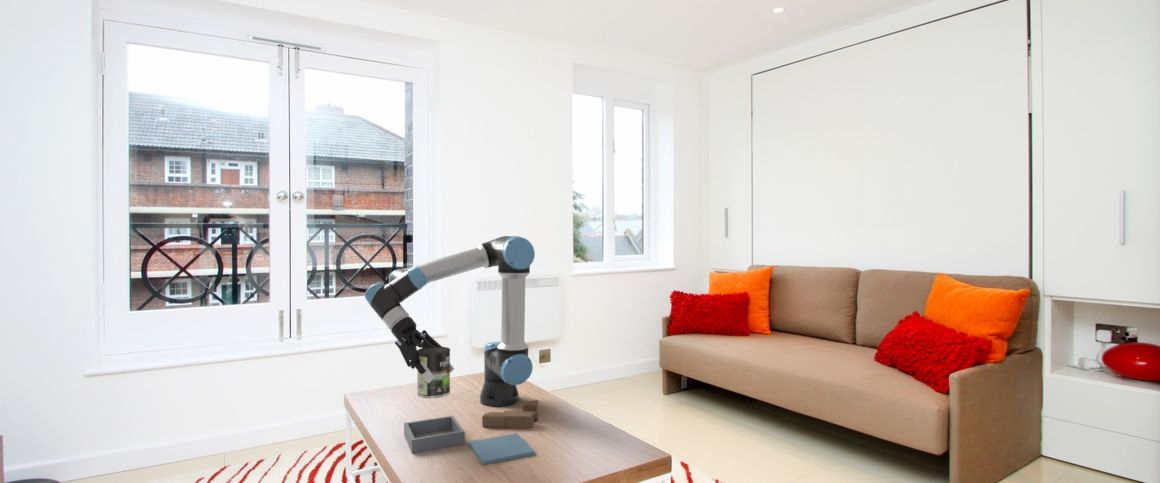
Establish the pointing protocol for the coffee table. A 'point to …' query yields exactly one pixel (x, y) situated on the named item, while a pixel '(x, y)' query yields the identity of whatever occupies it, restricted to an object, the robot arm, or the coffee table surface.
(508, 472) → the coffee table surface
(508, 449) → the board
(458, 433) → the bin
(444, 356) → the coffee can
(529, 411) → the wooden block set
